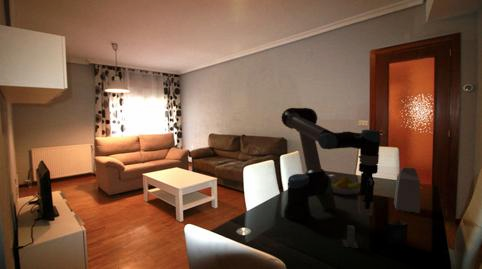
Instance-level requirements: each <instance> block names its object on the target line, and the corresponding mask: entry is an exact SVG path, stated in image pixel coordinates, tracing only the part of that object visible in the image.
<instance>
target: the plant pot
mask: <svg viewBox="0 0 482 269" xmlns="http://www.w3.org/2000/svg"><path fill="white" fill-rule="evenodd" d="M332 189H333V188H331V189H330V191H329V192H328V193H326V194H323V195H317V196H315V197H316V198H317V199H318V201H319V203H320V205H321V207H322V208H323V210H324V211H327V210H333V209H335V208H336V207H337V206H336V202H335V197H334V192H333V190H332Z"/></svg>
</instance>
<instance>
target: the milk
mask: <svg viewBox="0 0 482 269" xmlns="http://www.w3.org/2000/svg"><path fill="white" fill-rule="evenodd" d="M393 199H394V200H393V205H395V206H394V208H396V209H395V211H398V210H401V211H400V212H405V211H407V212H406V213H411V212H415V213H414V214H417V213H420V214H421V181H420V178H419V175H418V172H417V170H416V168H415V167H409V166H408V167H407V166H402V168H401V170H400V171H399V173H397V176H396V182H395V193H394V198H393Z"/></svg>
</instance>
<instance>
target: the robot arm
mask: <svg viewBox="0 0 482 269" xmlns="http://www.w3.org/2000/svg"><path fill="white" fill-rule="evenodd" d="M281 122H282V124H283V125H284V126H285V127H287V128H289V129H290V130H293V129H294V130H295V131H296V132H298V134H299V137H300V138H299V139H300V142H301V148H302V153H303V158H304V164H305V168H306V171H305V172H304V173H295V174H291V175H290V176H289V177H288V179H287V202H286V205H285V208H284V210H283V216H284V217H285V218H286V219H288V220H290V221H295V222H308V221H309V220H311V219H312V212H311V208H310V205H309V198H310V197H316V196H317V195H323V194H326V193H328V192H329V191H330V189H331V185H332V183H331V180H332V179H331V177H330V176H329V174H326V172H325V170H324V169H323V168H322V166H321V162H320V156H319V150H318V147H317V143H318V145H319V146H320V148H321V149H323V150H333V149H334V150H335V149H336V150H337V149H350V148H353V149H357V150H359V153H360V154H359V155H358V158H359V163H358V164H359V165H358V171H359V172H361V174H360V183H361V185H360V192H359V193H360V195H365V200H363V201H364V206H363V215H362V216H367V215H368V217H371V216H370V206H371V202H373V203H374V189H375V180H374V176H373V175H375V174H377V173H378V170H379V166H378V164H379V160H380V159H379V157H380V155H379V154H380V153H379V152H380V145H381V132H380V130H376V129H363V130H361V133H360V132H354V131H342V132H334V131H331V130H329V129H328V128H325V127H323V126H321V125H319V124H317V123H318V115H317V113H316V111H315V110H314V109H313V108H309V107H290V108H289V107H288V108H287V109H285V110H284V111H283V113H281Z"/></svg>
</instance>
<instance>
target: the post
mask: <svg viewBox="0 0 482 269" xmlns="http://www.w3.org/2000/svg"><path fill="white" fill-rule="evenodd" d="M346 226H347V228H346V239H345V238H342V239H341V240H342V244H344V245H343V247H344V246H345V247H344V248H349V247H352V248H351V249H356V248H358V249H357V250H359V249H360V247H359V245H358V243H357V240H355V234H356V232H355V226H354V225H353V224H352V225H350V224H347V225H346Z"/></svg>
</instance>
